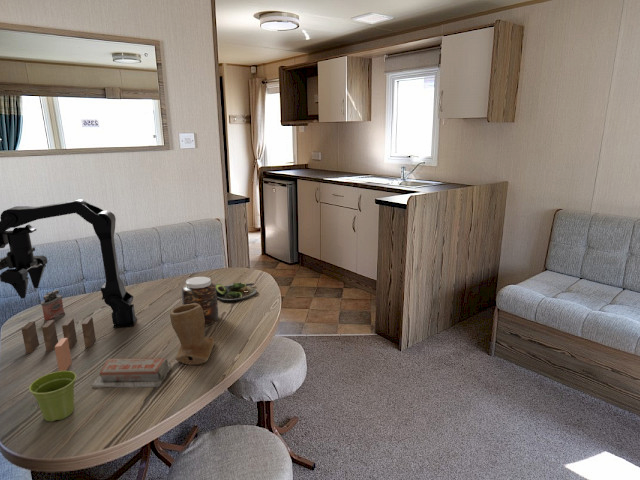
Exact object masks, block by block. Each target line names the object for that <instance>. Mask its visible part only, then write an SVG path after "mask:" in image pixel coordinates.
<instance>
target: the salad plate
mask: <svg viewBox="0 0 640 480" xmlns="http://www.w3.org/2000/svg"><path fill="white" fill-rule="evenodd" d="M254 285H255V283H254V282H251V283H250V282H249V283H246V282H243V283H242V282H234V283H231V284H227V285H225V286H224V285H223V284H221V283H216V284H215V286H216V291H217V301H219V302H222V303H228V302H229V303H236V301H237V302H240V300H241V301H242V300H246V299H248V298H250V297H253V296H254V295H255V294H256V293H257V292H258V290H257V288H254V287H252V286H254ZM244 291H248V292H250V295H249V294H247V295H246V296H243V294H245V293H244ZM245 298H246V299H245Z"/></svg>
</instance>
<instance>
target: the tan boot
mask: <svg viewBox="0 0 640 480" xmlns="http://www.w3.org/2000/svg"><path fill="white" fill-rule="evenodd" d="M169 318H170V323H171V326H172V329H173V330H174V332H175V334H176V336H177V338H178V341H179V343H180V346H179V349H178V352H177V355H176V357H175V360H176V361H177V362H179V363H182V364H186V365H190V366H191V365H193V366H195V365H201V364H204V363H207V361H208V360H209V359H210V356H211V353H212V351H213V348H214V345H215V339H214V337H210V336H209V337H208V336H205V326H204V325H205V318H204V313H203V309H202V307H201V306H200V305H199V304H196V303H192V304H186V305H183V304H182V305H179V306H177V307H174V308H173V309H171V311H170V313H169Z"/></svg>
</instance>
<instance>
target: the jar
mask: <svg viewBox="0 0 640 480" xmlns="http://www.w3.org/2000/svg"><path fill="white" fill-rule="evenodd" d="M215 285H216V284H215V283H214V282H212V281H211V278H210V277H208V276H195V277H190V278H188V279H186V280H185V284H184V285H183V286H182V288H181V301H182V305H186V304H192V303H196V304H199V305H200V306H201V307H202V309H203V313H204V318H205V325H204V327H208V326H211V325H213V324H216V323H217V322H218V320H219V304H218V303H219V302H218V300H217V291H216V286H215ZM215 322H216V323H215Z"/></svg>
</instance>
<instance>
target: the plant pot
mask: <svg viewBox="0 0 640 480" xmlns="http://www.w3.org/2000/svg"><path fill="white" fill-rule="evenodd" d="M76 379H77V374H76V372H74V371H71V370H67V371H59V370H58V371H53V372H51V373H47V374H44V375H43V376H42V375H41V376H40V377H38V378H37V379H35V380H34V381H33V382H32V383H31V384H30V385H29V387H28V391H29V392H30V394H32V395H33V397H34V398H35V400H36V402H37V404H38V406H39V409H40V412H41V414H42V416H43V420H45V421H46V422H54V421H58V420H60V421H62V420H63V419H65V418H67V417H69V416H70V415H72V414H73V413H74V409H75V391H74V390H75V389H74V388H75V384H76Z"/></svg>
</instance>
